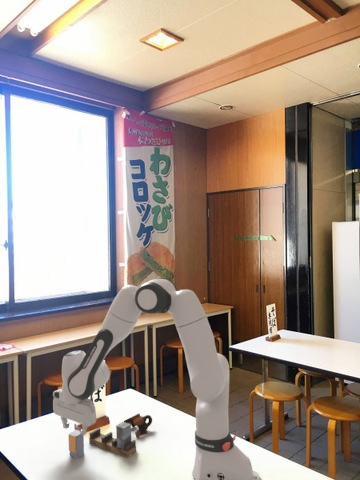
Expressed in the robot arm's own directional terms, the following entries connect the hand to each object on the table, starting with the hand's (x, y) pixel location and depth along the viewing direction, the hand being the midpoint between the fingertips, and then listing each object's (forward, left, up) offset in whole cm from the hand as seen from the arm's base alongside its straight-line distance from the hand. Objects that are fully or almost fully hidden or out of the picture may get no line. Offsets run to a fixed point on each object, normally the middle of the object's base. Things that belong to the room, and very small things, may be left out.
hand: (74, 431), depth 151 cm
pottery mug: (-9, -26, -9) cm, 29 cm away
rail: (-8, -11, -9) cm, 16 cm away
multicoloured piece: (0, 0, -9) cm, 9 cm away
